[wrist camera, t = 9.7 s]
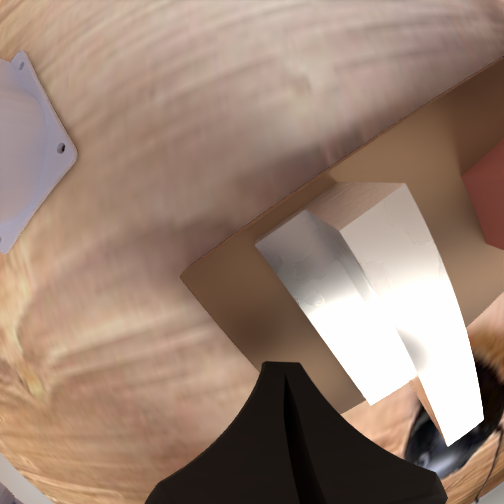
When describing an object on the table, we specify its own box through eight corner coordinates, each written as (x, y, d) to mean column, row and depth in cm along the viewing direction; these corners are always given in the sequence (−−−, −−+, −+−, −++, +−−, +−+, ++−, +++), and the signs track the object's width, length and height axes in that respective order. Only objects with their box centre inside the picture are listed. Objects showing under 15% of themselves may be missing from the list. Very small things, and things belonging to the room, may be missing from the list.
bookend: (255, 239, 10) (248, 292, 5) (337, 181, 10) (405, 182, 5) (365, 393, 12) (399, 475, 7) (428, 351, 11) (483, 419, 6)
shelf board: (187, 268, 12) (179, 277, 11) (532, 39, 7) (541, 36, 6) (310, 412, 14) (313, 427, 13) (582, 160, 9) (592, 161, 8)
